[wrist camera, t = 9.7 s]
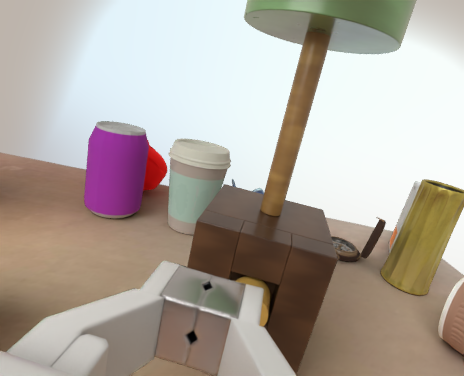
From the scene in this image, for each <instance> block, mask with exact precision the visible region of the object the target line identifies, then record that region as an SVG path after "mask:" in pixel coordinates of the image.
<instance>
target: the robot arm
mask: <svg viewBox="0 0 464 376" xmlns="http://www.w3.org/2000/svg"><path fill="white" fill-rule="evenodd" d="M245 285H246V286H245ZM263 293H264V289H263V288H261V287H257V286H252V285H248V284H244V283H240V282H236V281H232V280H229V279H225V278H221V277H217V276H213V275H212V274H208V273H205V272H202V271H199V270H195V269H192V268H189V267H186V266H182V265H181V266H180V264H176V263H172V262H169V261H162V262H161V263H160V265H159V266H158V267H157V268H156V270H155V271H154V272H153V273H152V275H151V276H150V277H149V278H148V280H147V281H146V282H145V283H144V285H143V286H142V287H141V288H140V290H138V289H135V288H134V289H131V290H128V291H125V292H122V293H119V294H116V295H113V296H110V297H107V298H104V299H101V300H97V301H94V302H91V303H88V304H85V305H82V306H79V307H76V308H73V309H70V310H67V311H64V312H61V313H58V314H55V315H52V316H49V317H46V318H44V319H43V320H42V321H40V322H39V323H38V324H37V325H36V326H35V327H34V328H33V329H31V330H30V331H29V332H28V333H27V334H26V335H25V336H23V337H22V338H21V339H20V340H19V341H18V342H17V343H15V344H14V345H13V346H12V347H11V348H10V349H9V350H7V351H6V352H3V351H0V376H130V375H131V374H133V373H134V372H136V371H137V370H138V369H140V368H141V367H143V366H144V365H146V364H147V363H149V362H150V361H151V360H153V359H154V357H157V358H160V359H164V360H167V361H171V362H174V363H178V364H181V365H185V366H188V367H190V368H193V369H196V370H199V371H202V372H205V373H207V374H210V375H213V376H296V374H295V373H294V371H293V370H292V368H291V367H290V365H289V363H288V362H287V360H286V359H285V357H284V356H283V354H282V353H281V351H280V350H279V348H278V347H277V345H276V344H275V342H274V341H273V339H272V338H271V336H270V335H269V333H268V332H267V330H266V329H265V327H262V326H259V325H260V317H261V309H262V301H263Z"/></svg>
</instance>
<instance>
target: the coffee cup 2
mask: <svg viewBox="0 0 464 376" xmlns="http://www.w3.org/2000/svg"><path fill="white" fill-rule="evenodd" d="M438 333H439V336H440V338H442V339H443V340H444V341H446V342H447V343H448V344H450V345H451V347H452V348H454V349H455V350H457V351H458V352H460V353H461V354H463V355H464V278H462V279H461V280H459V281H458V282H457V284H456V285H455V286H454V288H453V289H452V291H451V293H450V295H449V297H448V299H447V301H446V303H445V306H444V308H443V311H442V314H441V317H440V321H439V328H438Z"/></svg>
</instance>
